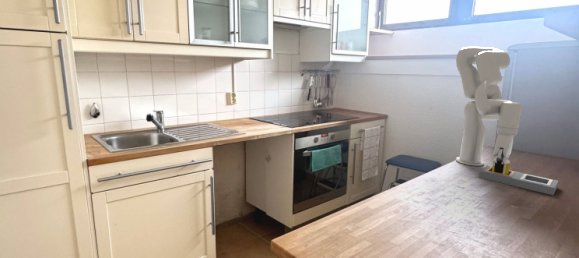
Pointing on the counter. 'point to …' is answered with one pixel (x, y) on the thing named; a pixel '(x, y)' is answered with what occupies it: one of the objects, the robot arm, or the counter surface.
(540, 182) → the socket stand
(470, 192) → the counter surface
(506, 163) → the pill bottle
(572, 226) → the counter surface
